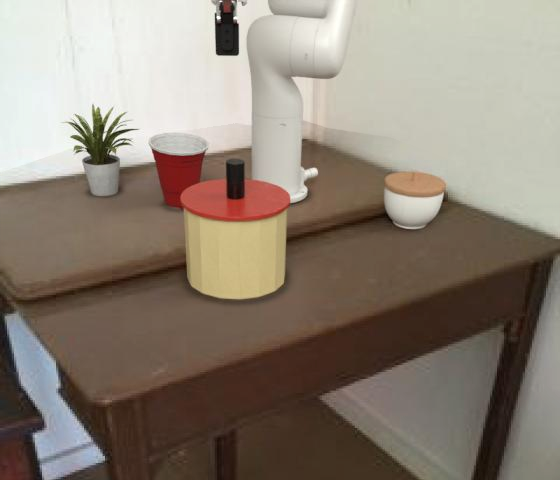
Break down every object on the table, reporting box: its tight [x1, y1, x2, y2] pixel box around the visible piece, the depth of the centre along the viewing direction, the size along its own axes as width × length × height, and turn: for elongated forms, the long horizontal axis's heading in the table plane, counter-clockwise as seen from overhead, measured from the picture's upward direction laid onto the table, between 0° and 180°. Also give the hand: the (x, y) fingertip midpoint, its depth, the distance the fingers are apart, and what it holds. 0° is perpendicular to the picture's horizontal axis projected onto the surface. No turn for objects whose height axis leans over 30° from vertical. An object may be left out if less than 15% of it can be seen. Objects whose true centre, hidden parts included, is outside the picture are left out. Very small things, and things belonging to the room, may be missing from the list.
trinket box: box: [383, 170, 447, 230], centre depth 125 cm, size 11×11×9 cm
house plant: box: [61, 104, 140, 197], centre depth 131 cm, size 14×14×16 cm
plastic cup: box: [148, 132, 210, 211], centre depth 129 cm, size 11×11×12 cm
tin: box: [183, 208, 288, 300], centre depth 103 cm, size 15×15×12 cm
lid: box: [180, 158, 291, 221], centre depth 98 cm, size 16×16×6 cm
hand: (226, 48), depth 101 cm, fingers open, 9 cm apart
